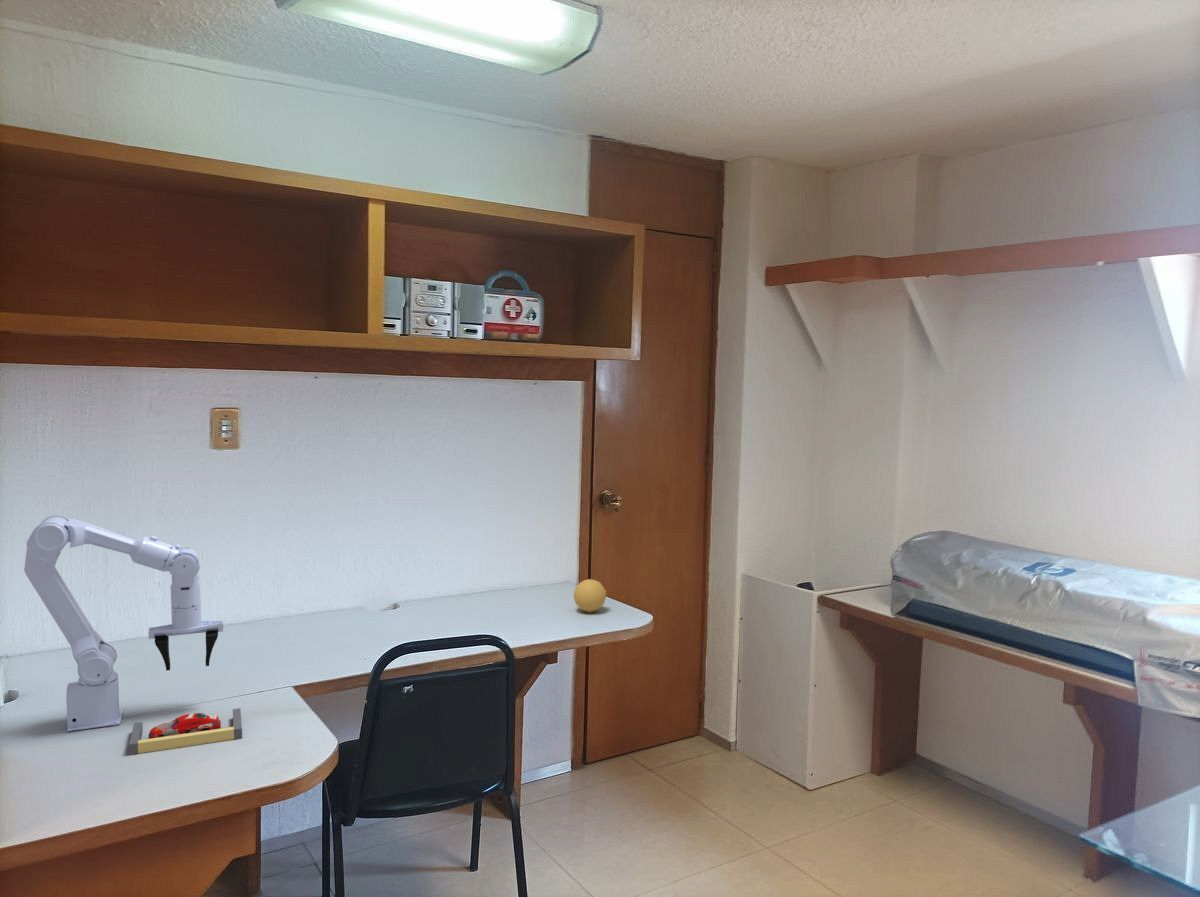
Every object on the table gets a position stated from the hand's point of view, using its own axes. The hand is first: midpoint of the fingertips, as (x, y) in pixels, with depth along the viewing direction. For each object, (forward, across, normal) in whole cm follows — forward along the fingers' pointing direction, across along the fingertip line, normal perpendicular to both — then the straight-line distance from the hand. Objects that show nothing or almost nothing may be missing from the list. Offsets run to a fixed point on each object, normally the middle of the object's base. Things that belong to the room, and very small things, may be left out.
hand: (188, 666), depth 190 cm
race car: (+10, 0, +14) cm, 17 cm away
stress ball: (+10, -111, -39) cm, 118 cm away
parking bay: (+9, 0, +15) cm, 18 cm away
